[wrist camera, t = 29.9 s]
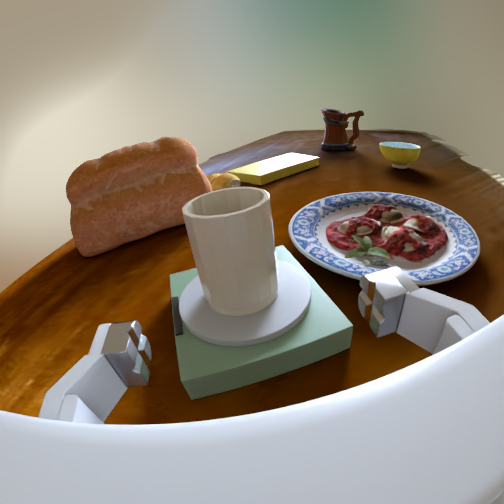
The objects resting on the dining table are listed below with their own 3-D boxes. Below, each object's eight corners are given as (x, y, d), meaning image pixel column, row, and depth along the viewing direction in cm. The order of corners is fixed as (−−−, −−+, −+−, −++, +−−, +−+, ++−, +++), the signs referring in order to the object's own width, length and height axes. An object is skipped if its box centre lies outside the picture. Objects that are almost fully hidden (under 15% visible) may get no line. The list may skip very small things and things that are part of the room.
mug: (372, 149, 89) (370, 108, 81) (356, 154, 83) (353, 109, 76) (333, 144, 102) (330, 107, 95) (314, 148, 96) (310, 109, 89)
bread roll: (216, 184, 67) (213, 169, 65) (246, 186, 62) (243, 169, 61) (192, 196, 62) (189, 179, 60) (223, 198, 57) (219, 179, 55)
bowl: (385, 160, 73) (385, 140, 70) (422, 166, 66) (422, 144, 63) (374, 168, 66) (374, 145, 63) (416, 174, 59) (417, 150, 56)
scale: (350, 347, 20) (354, 319, 19) (191, 400, 18) (177, 376, 16) (284, 264, 32) (282, 239, 31) (175, 293, 30) (167, 269, 28)
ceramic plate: (367, 193, 49) (367, 178, 48) (494, 240, 29) (498, 221, 28) (251, 239, 39) (248, 219, 37) (418, 344, 19) (428, 317, 17)
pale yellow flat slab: (261, 185, 61) (324, 163, 74) (260, 175, 60) (323, 155, 73) (228, 179, 70) (291, 159, 83) (227, 171, 69) (290, 152, 82)
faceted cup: (290, 302, 22) (282, 203, 18) (212, 325, 20) (185, 226, 17) (265, 264, 27) (254, 182, 23) (201, 281, 26) (180, 198, 22)
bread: (83, 239, 50) (61, 168, 42) (200, 198, 59) (186, 129, 52) (78, 267, 39) (46, 178, 32) (224, 215, 48) (208, 127, 41)
